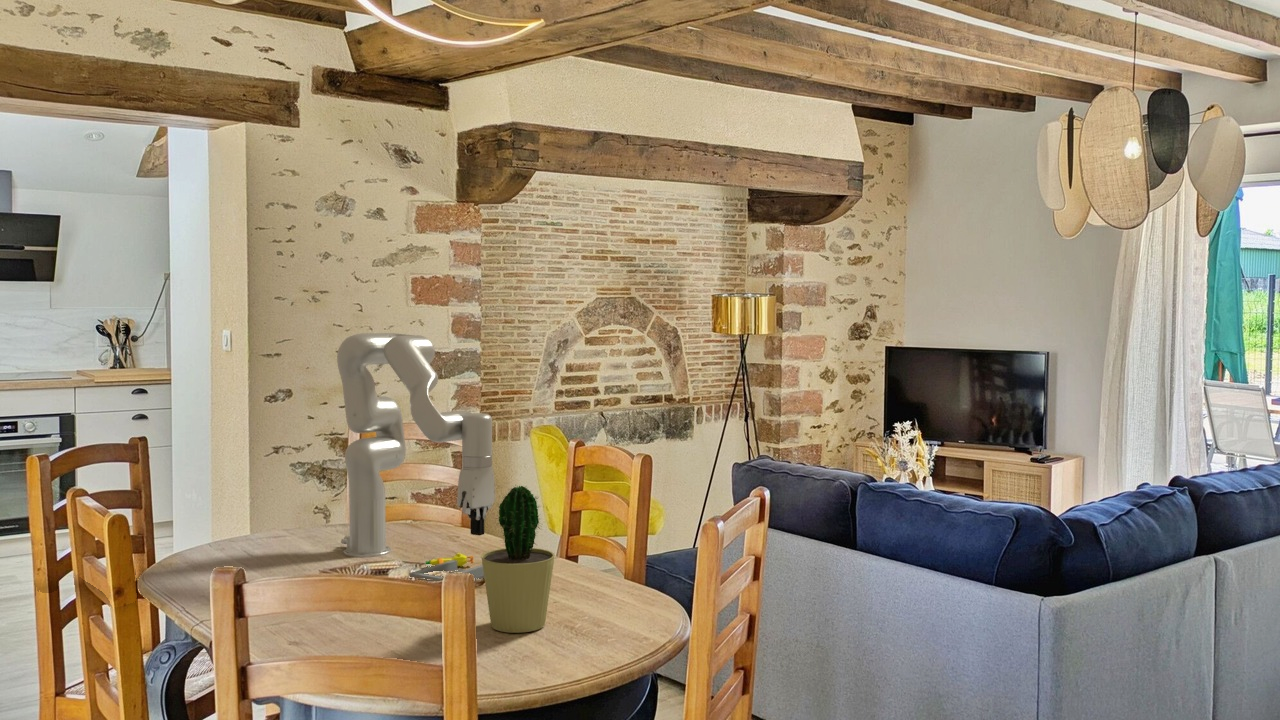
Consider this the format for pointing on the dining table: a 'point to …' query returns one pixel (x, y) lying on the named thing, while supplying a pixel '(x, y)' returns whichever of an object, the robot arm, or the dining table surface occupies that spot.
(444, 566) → the u rest
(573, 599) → the dining table surface
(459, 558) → the toy figure
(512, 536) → the potted cactus
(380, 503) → the robot arm
